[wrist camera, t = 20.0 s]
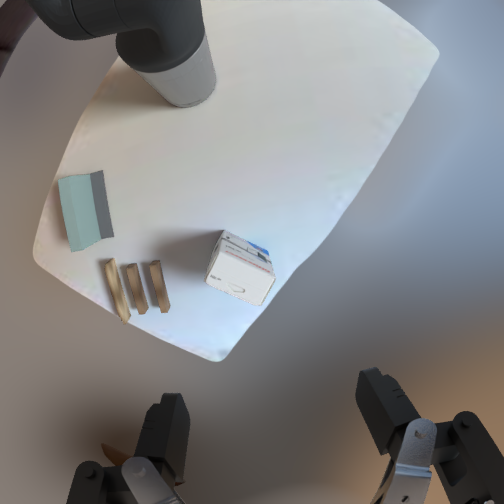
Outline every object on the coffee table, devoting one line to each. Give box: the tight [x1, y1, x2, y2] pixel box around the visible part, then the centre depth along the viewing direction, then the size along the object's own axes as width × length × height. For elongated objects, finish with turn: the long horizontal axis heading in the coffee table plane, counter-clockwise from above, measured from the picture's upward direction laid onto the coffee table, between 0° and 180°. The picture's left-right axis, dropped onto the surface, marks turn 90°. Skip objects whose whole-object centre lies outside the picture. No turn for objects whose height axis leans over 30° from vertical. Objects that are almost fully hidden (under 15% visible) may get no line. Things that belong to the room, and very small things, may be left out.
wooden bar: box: [104, 258, 131, 324], centre depth 45 cm, size 12×2×4 cm, turn 6°
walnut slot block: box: [126, 261, 170, 314], centre depth 46 cm, size 9×6×2 cm, turn 6°
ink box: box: [204, 230, 276, 306], centre depth 41 cm, size 9×5×12 cm, turn 63°
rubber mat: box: [90, 170, 114, 239], centre depth 42 cm, size 12×8×1 cm, turn 6°
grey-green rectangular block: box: [58, 174, 101, 252], centre depth 39 cm, size 7×2×12 cm
